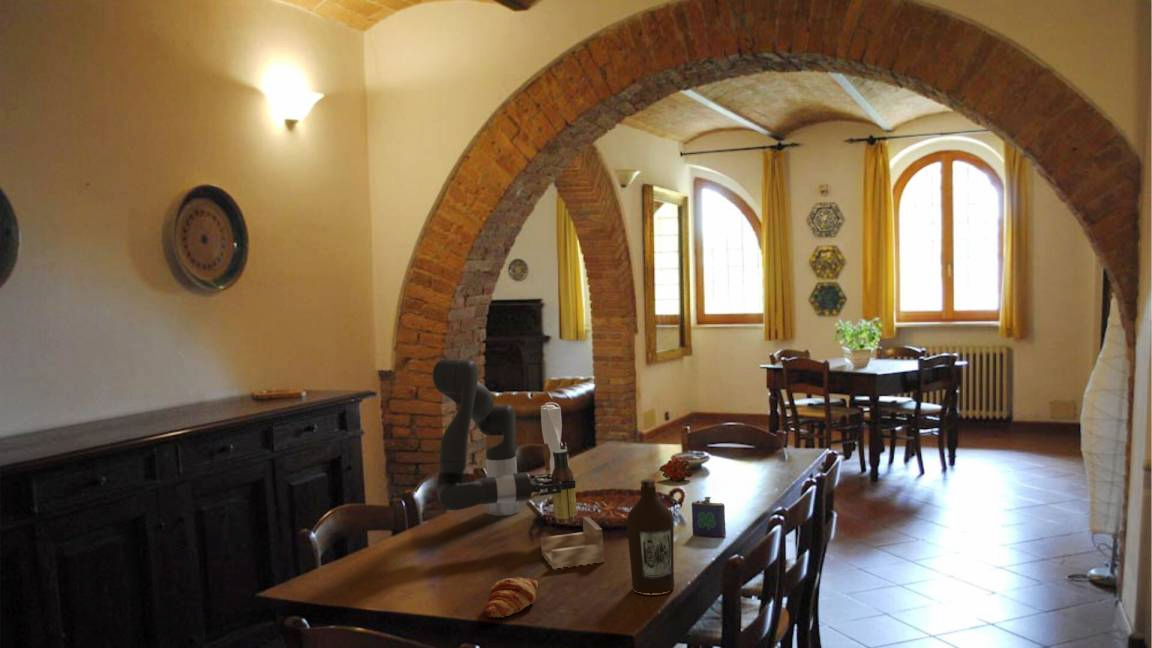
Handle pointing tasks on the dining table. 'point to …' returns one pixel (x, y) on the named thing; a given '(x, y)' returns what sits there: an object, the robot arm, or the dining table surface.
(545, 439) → the skyscraper
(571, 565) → the light wooden holder
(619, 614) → the dining table surface
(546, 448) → the hand bell
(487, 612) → the croissant
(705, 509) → the flask
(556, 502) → the sauce bottle
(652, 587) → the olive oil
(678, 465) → the dragon fruit
